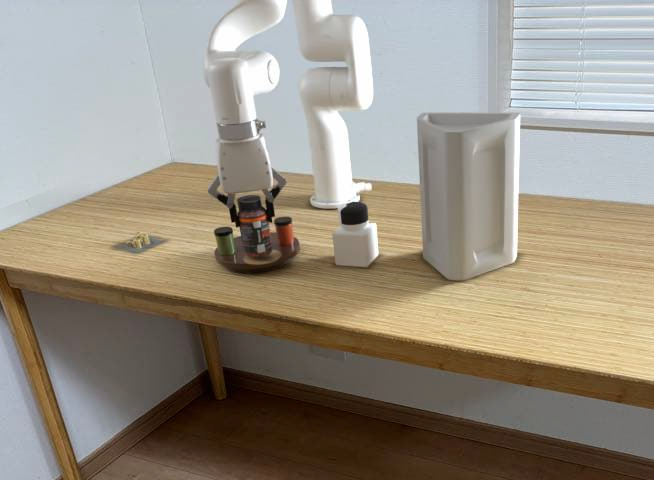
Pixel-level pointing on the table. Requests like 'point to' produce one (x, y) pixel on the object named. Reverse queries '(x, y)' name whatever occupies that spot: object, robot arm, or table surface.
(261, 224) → the supplement bottle
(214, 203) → the table surface
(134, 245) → the dice set
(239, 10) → the robot arm
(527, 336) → the table surface
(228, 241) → the spice rack
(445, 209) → the white triangular tub
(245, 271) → the rack base
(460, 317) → the table surface
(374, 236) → the medicine bottle
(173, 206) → the table surface
